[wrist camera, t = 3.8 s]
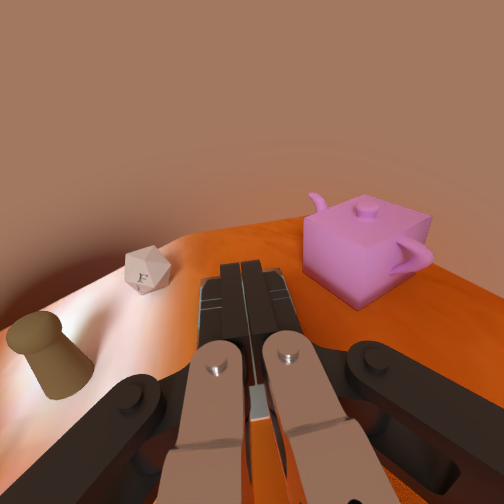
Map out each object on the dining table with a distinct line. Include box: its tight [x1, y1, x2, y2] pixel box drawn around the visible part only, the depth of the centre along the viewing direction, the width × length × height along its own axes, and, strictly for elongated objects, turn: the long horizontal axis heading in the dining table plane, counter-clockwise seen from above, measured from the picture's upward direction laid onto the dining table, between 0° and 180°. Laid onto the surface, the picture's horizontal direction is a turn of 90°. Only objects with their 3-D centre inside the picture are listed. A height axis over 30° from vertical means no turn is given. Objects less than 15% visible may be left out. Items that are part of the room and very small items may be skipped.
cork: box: [6, 311, 94, 400], centre depth 34 cm, size 6×6×11 cm
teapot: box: [303, 193, 434, 311], centre depth 48 cm, size 15×25×14 cm, turn 32°
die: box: [125, 245, 171, 295], centre depth 51 cm, size 8×9×10 cm
